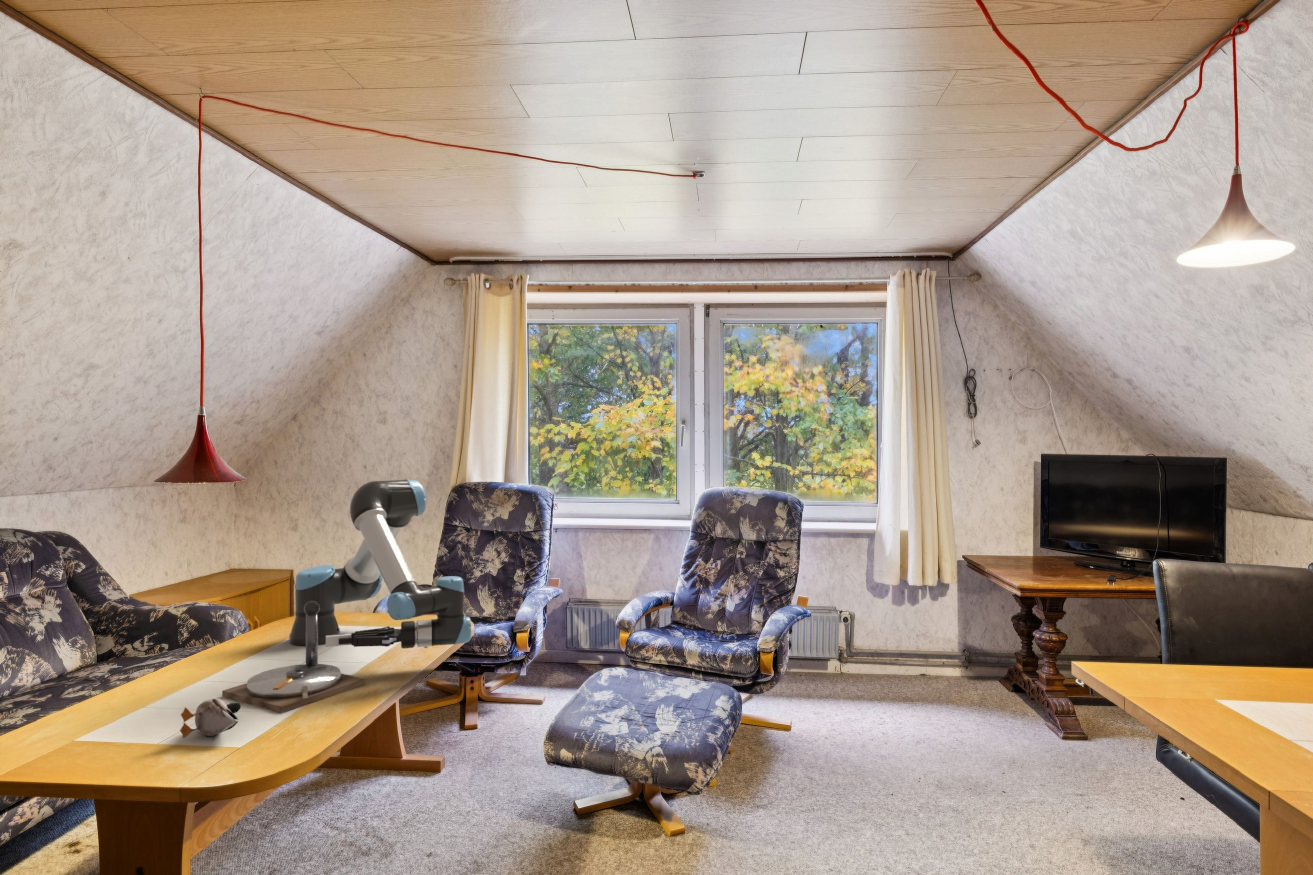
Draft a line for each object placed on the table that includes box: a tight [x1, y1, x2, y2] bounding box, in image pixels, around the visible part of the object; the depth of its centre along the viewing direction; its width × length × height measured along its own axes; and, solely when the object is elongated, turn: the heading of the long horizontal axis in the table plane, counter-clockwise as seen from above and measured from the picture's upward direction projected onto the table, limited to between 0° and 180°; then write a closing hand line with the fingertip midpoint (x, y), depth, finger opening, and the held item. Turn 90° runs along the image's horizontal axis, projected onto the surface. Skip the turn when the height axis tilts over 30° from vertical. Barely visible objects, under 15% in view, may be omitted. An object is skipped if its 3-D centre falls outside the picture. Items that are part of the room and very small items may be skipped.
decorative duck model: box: [179, 698, 242, 739], centre depth 167 cm, size 15×8×15 cm
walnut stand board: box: [221, 673, 365, 714], centre depth 194 cm, size 24×24×4 cm
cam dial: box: [246, 601, 342, 698], centre depth 195 cm, size 23×22×19 cm
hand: (326, 641), depth 205 cm, fingers closed
